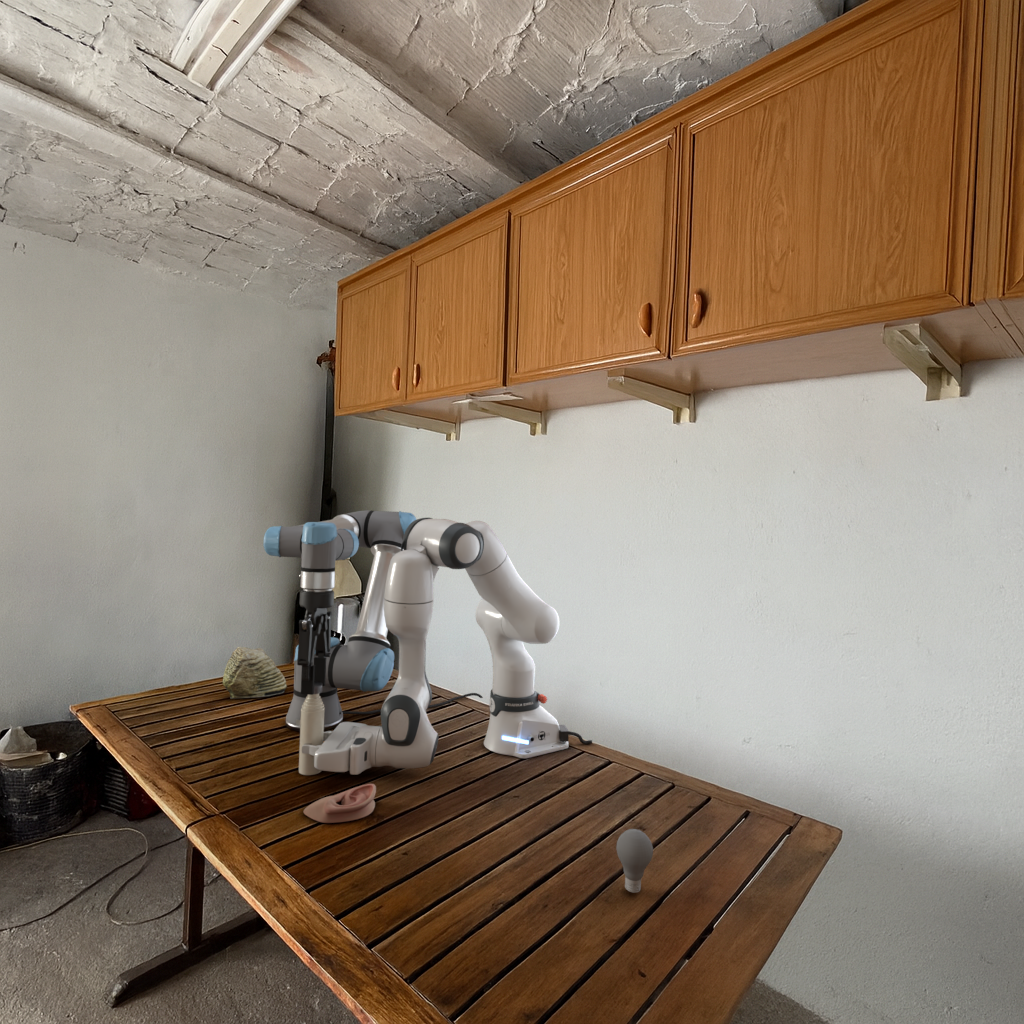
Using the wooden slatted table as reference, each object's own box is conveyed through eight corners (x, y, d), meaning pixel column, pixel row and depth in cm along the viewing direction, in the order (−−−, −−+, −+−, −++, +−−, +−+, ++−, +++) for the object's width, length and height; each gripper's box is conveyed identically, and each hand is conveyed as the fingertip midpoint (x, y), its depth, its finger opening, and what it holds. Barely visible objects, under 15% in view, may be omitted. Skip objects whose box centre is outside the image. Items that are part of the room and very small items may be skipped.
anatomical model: (295, 798, 124) (324, 774, 135) (295, 818, 124) (324, 792, 135) (358, 808, 121) (383, 782, 132) (358, 828, 121) (382, 801, 133)
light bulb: (610, 879, 108) (613, 822, 108) (644, 879, 109) (647, 822, 109) (619, 902, 102) (622, 840, 102) (655, 901, 103) (658, 840, 103)
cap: (319, 688, 149) (319, 681, 149) (324, 693, 145) (324, 685, 145) (302, 690, 146) (303, 683, 146) (307, 695, 143) (307, 687, 143)
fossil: (218, 695, 195) (220, 647, 195) (278, 685, 208) (279, 640, 207) (228, 703, 189) (230, 653, 188) (289, 692, 201) (290, 645, 201)
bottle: (318, 763, 150) (321, 681, 150) (325, 772, 145) (328, 687, 145) (295, 768, 147) (299, 684, 147) (302, 777, 143) (305, 690, 142)
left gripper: (317, 583, 155) (314, 677, 156) (282, 594, 136) (278, 701, 137) (347, 585, 155) (343, 679, 155) (316, 596, 136) (312, 703, 136)
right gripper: (378, 716, 156) (322, 713, 156) (356, 749, 136) (292, 745, 136) (377, 742, 156) (321, 739, 157) (354, 778, 136) (291, 775, 136)
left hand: (313, 689), depth 146 cm, fingers open, 6 cm apart
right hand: (307, 742), depth 146 cm, fingers closed on bottle, 5 cm apart
